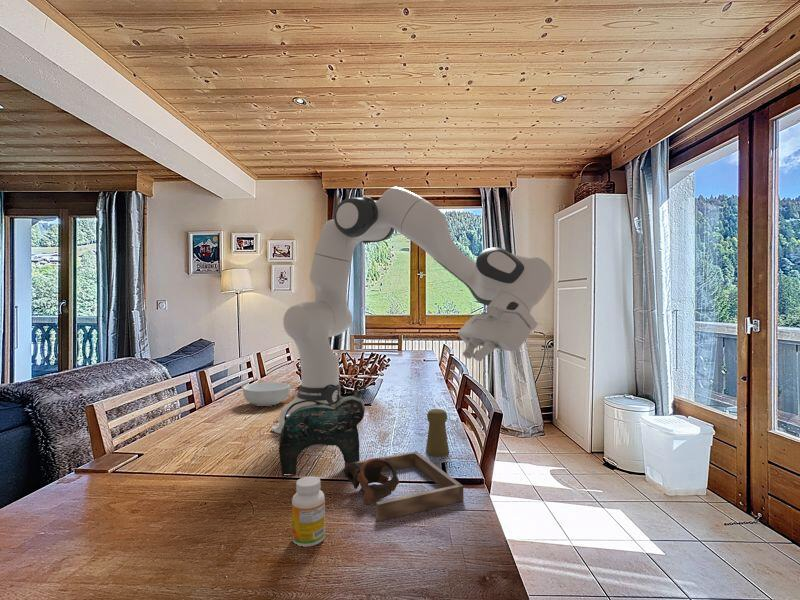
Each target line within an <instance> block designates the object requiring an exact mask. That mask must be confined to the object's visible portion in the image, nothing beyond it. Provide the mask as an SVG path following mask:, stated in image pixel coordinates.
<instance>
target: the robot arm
mask: <svg viewBox="0 0 800 600" xmlns="http://www.w3.org/2000/svg"><path fill="white" fill-rule="evenodd" d="M394 231H396V232H398V233H399V234H401V235H403V236H404V237H405V238H407V239H408V240H410V241H411V242H413V244H415V245H416V246H417V247H419V248H421V249H422V251H424V252H426V254H428V255H429V256H431V258H432V259H434V260H435V262H437V263H438V264H439V265H440V266H441V267H443V268H444V269H445V270H446V271H448V272H449V273H450V274H452V276H454V277H455V278H456V279H458V280H459V281H461V283H463V285H465V286H466V287H467V288H468V290H469V291H470V293H471V294H472V296H473V298H474V299H475V300H476V301H477V302H478V303H480V304H482V305H483V306H487V307H486V309H485V310H486V311H483V312H481V313H475V314H474V315H472V316H471V317H470V318H469V319H468V320H467V321H466V322H465V323H464V325H462V327H461V328H460V329H459V330H458V333H457V336H458V337H459V338H460V340H462V341H463V342H464V343H465V344H466V348H465V349H464V351H463V352H462V356H463V357H464V358H465V359H469V360H470V359H472V358H473V359H474V360H475V361H477V362H481V361H483V359H484V358H485V357H487V356H488V355H489V354H492V352H494V351H495V349H496V350H503V351H508V352H515V351H516V350H519V348H521V347H522V345H523V344H524V343H525V342H526V341H527V339H528V338H529V336H530V334H531V332H532V331H534V330H535V329H536V328H537V327H538V321H536V319H534V317H533V316H532V314H531V312H532V309H533V308H534V307H535V306H536V305H538V304H539V303H540V302H541V300H542V299H543V298H544V296H545V294H547V292H548V291H549V288H550V286H551V285H552V282H553V280H554V279H553V278H554V276H553V275H554V274H553V271H552V269H551V266H549V263H547V262H546V261H545V260H544V259H542V258H541V257H539V256H535V255H533V256H522V255H517V254H515V253H511V252H510V251H508V250H507V249H504V248H503V247H502V248H501V247H496V246H495V247H493V246H492V247H490V248H489V247H488V248H486V249H484V250H483V251H481V252H480V253H479V254H478V256H477V257H476V260H475V261H474V260H473V259H471V258H469V257H468V256H467V255H466V254H465V253H463V252H462V251H461V250H460V249H459V248H458V246H456V244H455V241H454V240H453V238H452V235H451V233H450V229H449V225H448V222H447V218H446V217H445V214H443V212H442V211H441V210H440V209H439V208H437V206H436V205H434V204H433V203H432V202H430V201H428V200H427V199H425V198H424V197H421V196H420V195H418V194H416V193H414V192H411V191H409V190H407V189H405V188H402V187H398V186H393V187H390V188H388V189H387V190H385V191H384V192H383V194H382V195H381V196H380V197H379V198H378V200H374V199H373V198H372V197H369V196H368V197H348V198H345V199H343V200H341V201H340V202H339V203H338V204H337V205H336V207H335V209H334V213H333V219H329V220H326V221H325V223H323V225H322V229H321V231H320V233H319V236H318V239H317V242H316V245H315V246H316V247H315V250H314V254H313V259H312V264H311V268H310V272H309V273H310V274H309V280H310V282H311V284H312V285H313V287H314V291H315V292H314V293H315V296H314V297H315V299H314V301H305V302H300V303H297V304H295V305H291V306H290V307H288V309H287V310H286V311H285V312H284V315H283V319H282V320H283V328H284V331H285V333H286V334H287V335H288V336H289V337H290V338H291V339H292V340H293V342H294V343H295V345H296V346H295V347H296V348H297V351H298V354H299V359H300V370H301V372H300V373H301V374H300V375H301V377H300V378H301V379H300V380H301V383H300V385H299V386H296V387H294V390H293V391H294V392H297V394H296V397H295V398H294V399H292V401H290V402H289V403H288V404H286V405H285V406H284V407H282V409H281V410H280V414H279V418H278V419H279V422H277V423H275V424H273V425H272V426H271V429H270V431H271V430H272V431H271V432H273V431H274V433H277V434H278V435H279V434H281V431H282V428H283V426H284V423H285V420H284V418H285V414H286V412H287V410H288V409H289V407H290V406H291V405H292V404H294V403H297V402H299V401H304V400H314V401H317V402H321V403H327V404H330V403H333V402H335V401H336V400H337V394H338V390H339V395H341V383H340V382H339V381H340V379H339V377H340V375H339V374H340V371H339V369H340V367H339V366H340V365H339V363H340V362H339V357H338V355H337V354H336V353H334V352H333V349H332V347H331V344H330V339H329V338H331V337H338V336H339V335H342V334H343V333H345V332H346V331H347V330H349V328H350V327H351V324H352V322H353V316H352V311H351V309H350V308H349V306H348V300H347V299H348V297H347V289H348V287H347V286H348V280H349V275H350V270H351V265H352V261H353V256H354V253H355V248H356V247H357V245H358V244H359V243H361V242H362V243H363V244H370V243H380V242H383V241H386V240H388V239H389V238H390V237H391V236H392V235H393V234H394ZM479 346H481V348H480V349H479V350H477V349H478V347H479ZM475 349H476V350H475ZM330 384H332V385H335V386H336V387H337V388H338V390H337V389H336V388H335V387H333V386H330V387H327V388H326V389H325V390H324V391H323V389H324V387H325V386H327V385H330ZM313 404H316V403H315V402H303V403H299V404H296V405H295V406H293V407H292V408H291V409H290V410H289V412H288V413H287V416H286V418H288V416H289V415H290V414H291V413H292V412H293V411H295V410H297V409H298V408H300V407H303V406H309V405H313ZM335 404H336V403H334V404H332V405H335Z"/></svg>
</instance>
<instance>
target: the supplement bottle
mask: <svg viewBox="0 0 800 600" xmlns="http://www.w3.org/2000/svg"><path fill="white" fill-rule="evenodd" d="M321 485H322V483H321V479H320V477H317V476H304V477H301V478H299V479H297V480H296V483H295V488H296V489H295V492H296V493H294V494H293V496H292V499H291V521H292V522H291V531H292V532H291V533H292V542H293V543H294V544H295V545H296V544H297V546H299V547H301V546H303V548H306V547H307V548H308V547H309V548H310V547H314V546H317V545H318V544H320V543H321V542H323V540H324V539H325V537H326V512H325V511H326V508H325V506H326V504H325V503H326V499H325V494H324V491H322V490H321Z"/></svg>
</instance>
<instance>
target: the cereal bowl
mask: <svg viewBox="0 0 800 600" xmlns="http://www.w3.org/2000/svg"><path fill="white" fill-rule="evenodd" d="M242 390H243V391H242V393H243V398H244V400H246V401H247V403H249V404H253V405H255V406H256V405H258V406H270V407H272V406H271V405H275V406H277V405H278V404H279V403H282V402H283V401H285V400H286V399H287V398H288V397H289V395H290V391H291V386H290V384H289V383H286V382H280V381H264V382H263V381H262V382H255V383H250V384H246V385H244V386H243V388H242ZM276 404H277V405H276ZM258 406H257V407H258Z"/></svg>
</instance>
